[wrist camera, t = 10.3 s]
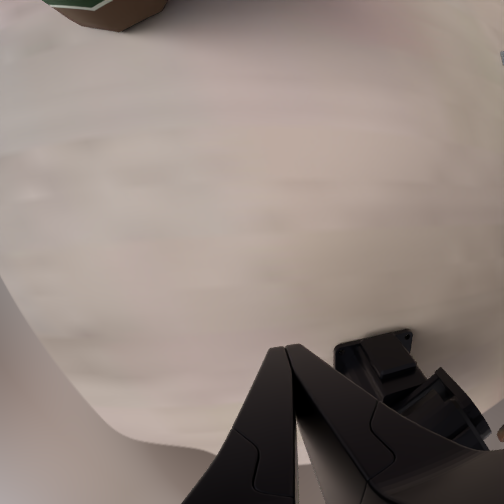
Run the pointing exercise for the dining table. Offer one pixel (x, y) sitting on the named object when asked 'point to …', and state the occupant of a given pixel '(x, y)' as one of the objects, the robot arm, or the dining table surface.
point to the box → (503, 55)
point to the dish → (501, 434)
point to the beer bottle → (107, 12)
